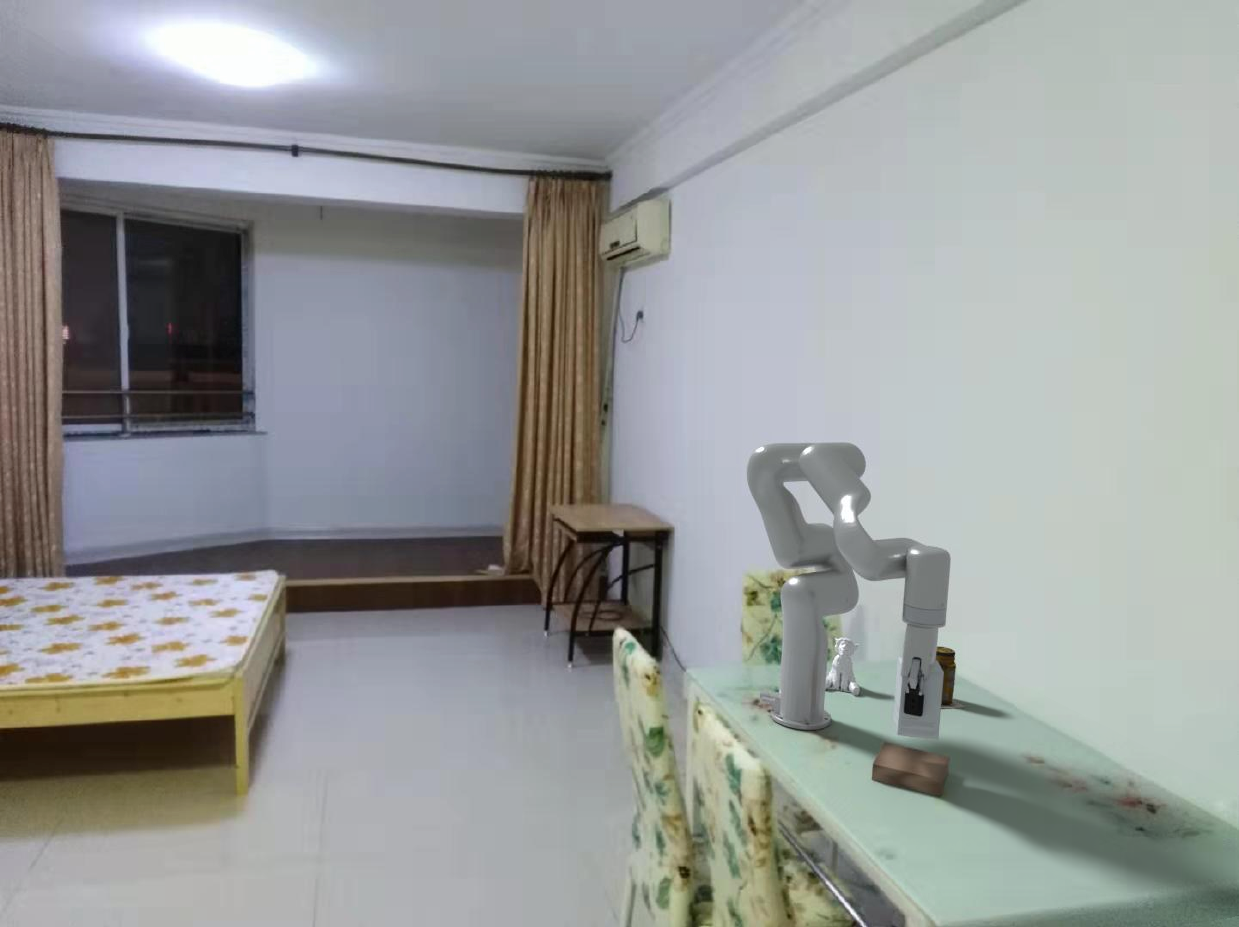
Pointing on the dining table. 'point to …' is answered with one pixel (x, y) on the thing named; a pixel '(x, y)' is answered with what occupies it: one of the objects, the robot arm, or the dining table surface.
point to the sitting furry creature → (843, 668)
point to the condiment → (947, 676)
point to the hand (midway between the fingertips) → (917, 706)
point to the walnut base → (911, 768)
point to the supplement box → (931, 709)
